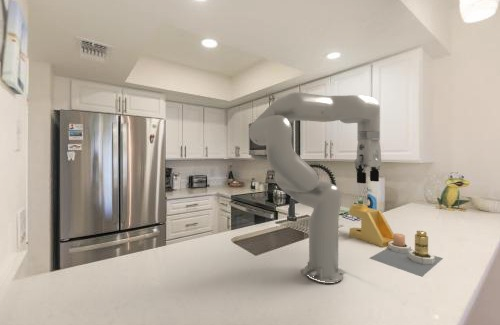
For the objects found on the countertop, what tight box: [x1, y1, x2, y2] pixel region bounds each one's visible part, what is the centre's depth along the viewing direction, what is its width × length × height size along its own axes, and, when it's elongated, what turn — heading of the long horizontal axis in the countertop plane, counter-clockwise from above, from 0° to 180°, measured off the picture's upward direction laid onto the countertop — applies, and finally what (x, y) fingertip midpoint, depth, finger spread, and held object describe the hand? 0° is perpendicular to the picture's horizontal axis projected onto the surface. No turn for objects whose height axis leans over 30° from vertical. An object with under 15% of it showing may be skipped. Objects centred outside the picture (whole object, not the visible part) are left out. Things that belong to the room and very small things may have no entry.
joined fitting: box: [387, 233, 412, 253], centre depth 96 cm, size 7×7×6 cm
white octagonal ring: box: [409, 249, 436, 265], centre depth 86 cm, size 7×7×2 cm
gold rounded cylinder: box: [414, 230, 429, 258], centre depth 86 cm, size 4×4×10 cm
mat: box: [369, 247, 444, 277], centre depth 88 cm, size 22×17×1 cm
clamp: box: [349, 203, 395, 248], centre depth 109 cm, size 20×9×16 cm, turn 25°
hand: (368, 182), depth 88 cm, fingers open, 9 cm apart
